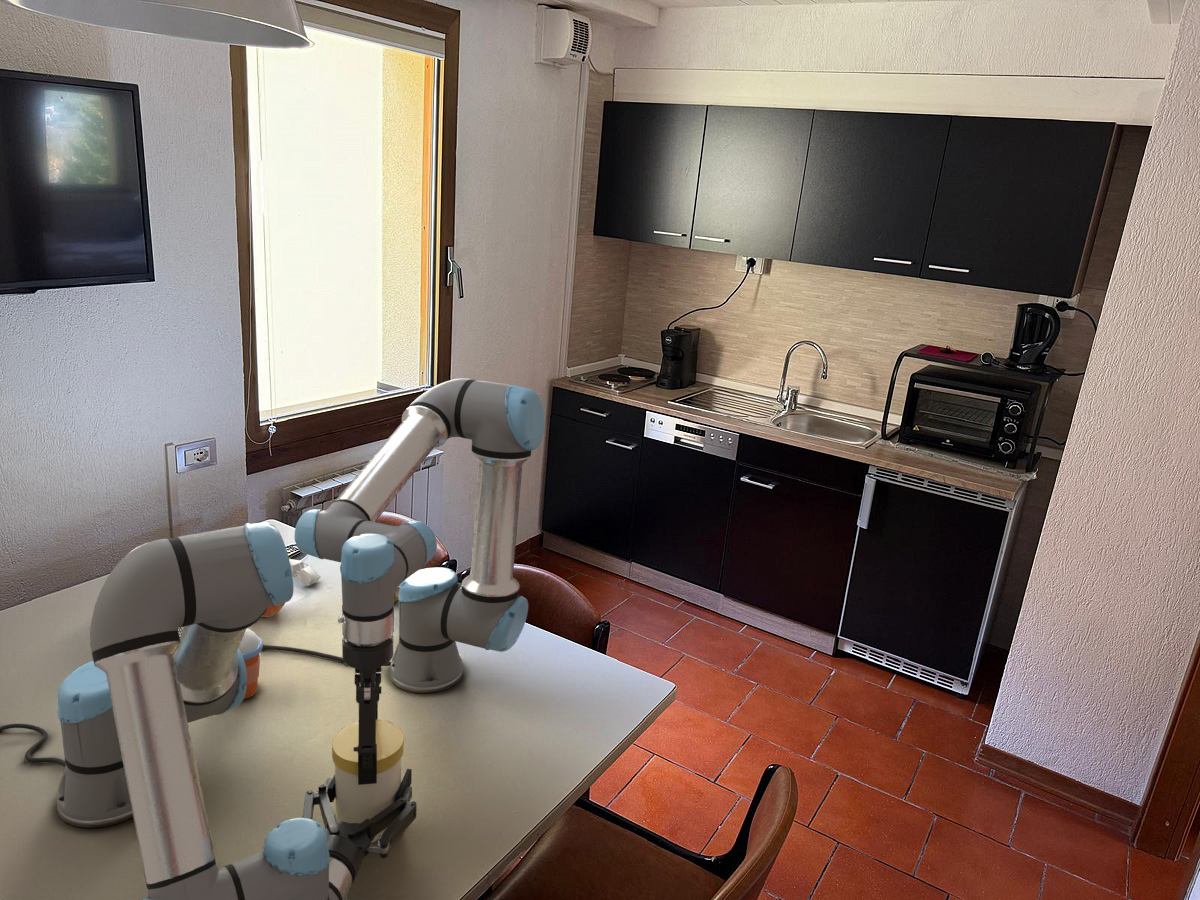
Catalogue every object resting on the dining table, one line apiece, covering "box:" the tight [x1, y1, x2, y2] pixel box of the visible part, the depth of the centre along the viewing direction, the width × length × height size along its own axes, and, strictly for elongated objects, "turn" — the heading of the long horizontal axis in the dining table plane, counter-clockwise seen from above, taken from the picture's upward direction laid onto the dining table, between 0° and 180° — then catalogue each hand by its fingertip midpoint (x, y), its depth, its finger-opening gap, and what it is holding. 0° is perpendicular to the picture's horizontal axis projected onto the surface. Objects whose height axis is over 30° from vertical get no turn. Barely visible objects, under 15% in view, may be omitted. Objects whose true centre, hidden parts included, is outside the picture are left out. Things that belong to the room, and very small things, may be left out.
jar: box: [334, 758, 402, 842], centre depth 137 cm, size 10×10×16 cm
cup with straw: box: [239, 628, 264, 700], centre depth 168 cm, size 9×9×18 cm
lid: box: [331, 719, 405, 775], centre depth 135 cm, size 11×11×2 cm
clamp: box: [289, 558, 322, 587], centre depth 219 cm, size 20×4×7 cm, turn 62°
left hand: (376, 772), depth 142 cm, fingers closed on jar, 10 cm apart
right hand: (368, 756), depth 136 cm, fingers open, 12 cm apart
